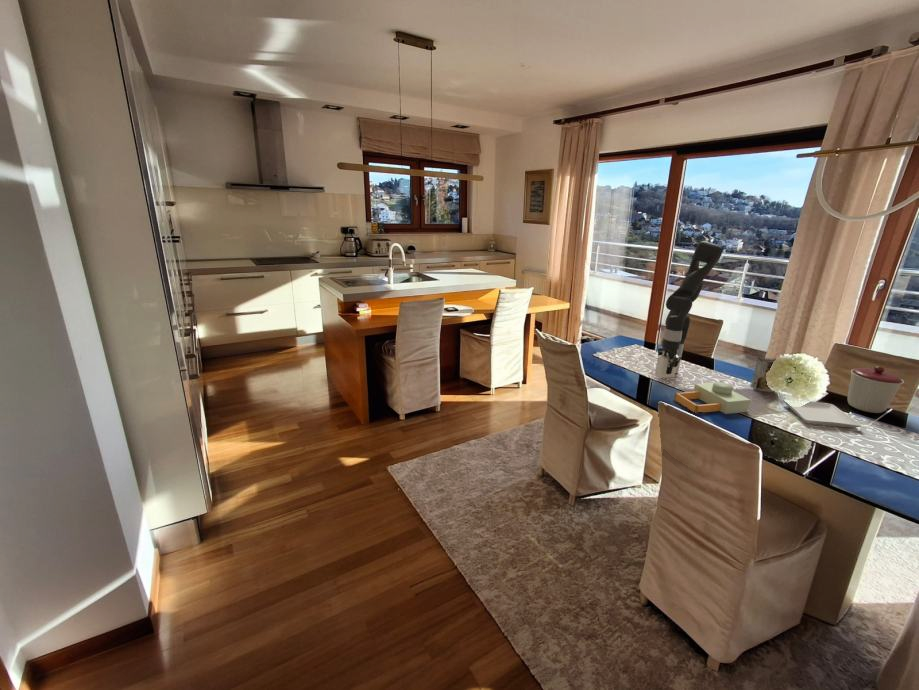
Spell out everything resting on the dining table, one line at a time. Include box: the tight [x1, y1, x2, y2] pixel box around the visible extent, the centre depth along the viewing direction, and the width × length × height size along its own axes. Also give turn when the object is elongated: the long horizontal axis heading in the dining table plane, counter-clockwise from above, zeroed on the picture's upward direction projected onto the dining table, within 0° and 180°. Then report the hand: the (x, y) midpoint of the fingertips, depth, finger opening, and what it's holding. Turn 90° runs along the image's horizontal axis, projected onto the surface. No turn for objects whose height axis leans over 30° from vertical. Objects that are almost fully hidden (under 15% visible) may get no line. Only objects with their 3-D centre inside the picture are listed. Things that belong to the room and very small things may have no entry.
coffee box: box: [750, 356, 777, 393], centre depth 217 cm, size 9×6×16 cm
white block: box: [654, 355, 676, 379], centre depth 205 cm, size 4×8×10 cm, turn 102°
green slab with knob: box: [673, 381, 751, 415], centre depth 199 cm, size 20×25×9 cm
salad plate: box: [781, 398, 862, 429], centre depth 191 cm, size 21×21×3 cm
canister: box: [847, 365, 905, 414], centre depth 198 cm, size 18×18×21 cm
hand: (665, 371), depth 206 cm, fingers closed on white block, 4 cm apart
